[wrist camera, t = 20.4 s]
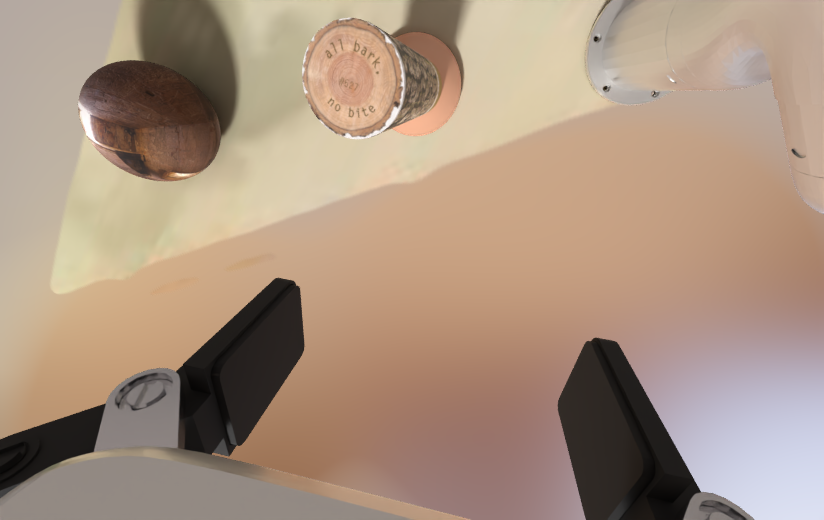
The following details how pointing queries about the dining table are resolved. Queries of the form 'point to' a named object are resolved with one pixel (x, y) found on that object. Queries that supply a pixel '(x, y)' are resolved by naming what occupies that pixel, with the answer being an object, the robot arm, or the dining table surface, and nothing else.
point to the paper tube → (366, 79)
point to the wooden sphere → (149, 120)
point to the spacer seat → (449, 77)
